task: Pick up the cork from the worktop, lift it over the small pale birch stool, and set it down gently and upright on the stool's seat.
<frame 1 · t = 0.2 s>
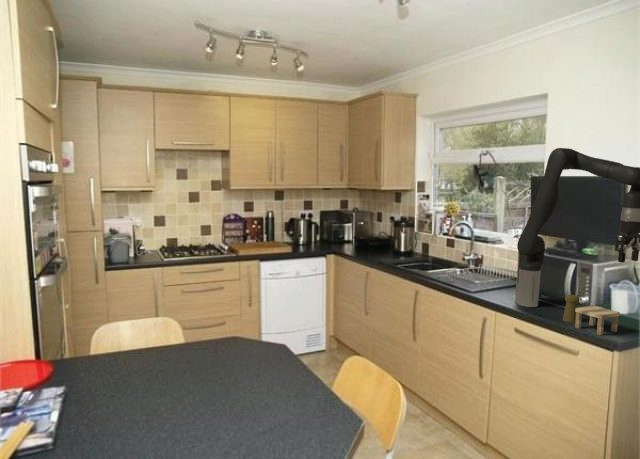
hand: (627, 261, 180), 28 cm above the kitchen counter, tool pointing down, fingers open, 8 cm apart
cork: (570, 321, 198), on the kitchen counter
birch stool: (595, 329, 187), on the kitchen counter
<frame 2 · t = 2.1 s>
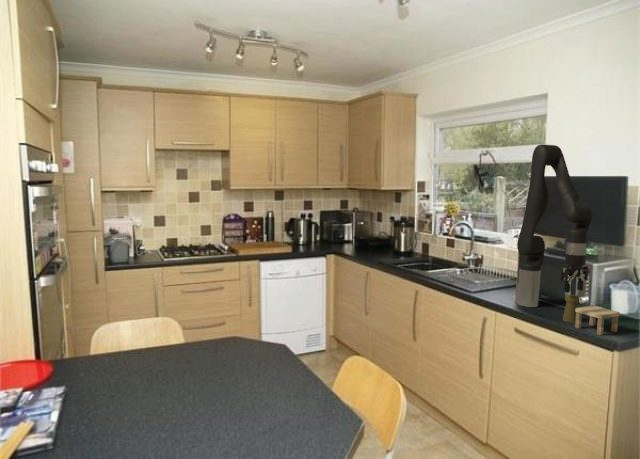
hand: (573, 291, 197), 13 cm above the kitchen counter, tool pointing down, fingers open, 8 cm apart
nothing on the kitchen counter moved.
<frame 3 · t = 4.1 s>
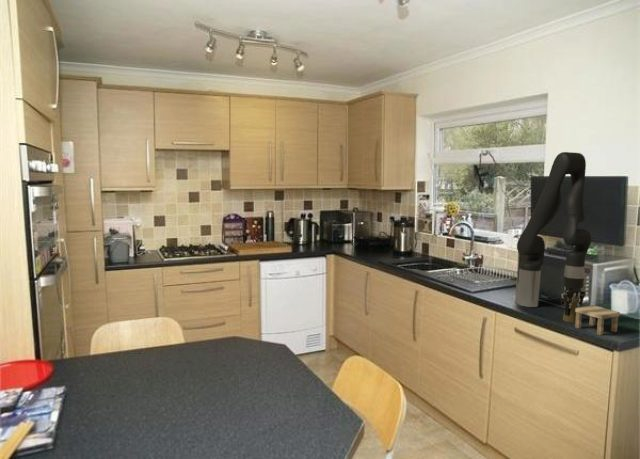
hand: (570, 315, 198), 2 cm above the kitchen counter, tool pointing down, fingers closed on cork, 3 cm apart
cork: (570, 321, 198), on the kitchen counter, touching gripper
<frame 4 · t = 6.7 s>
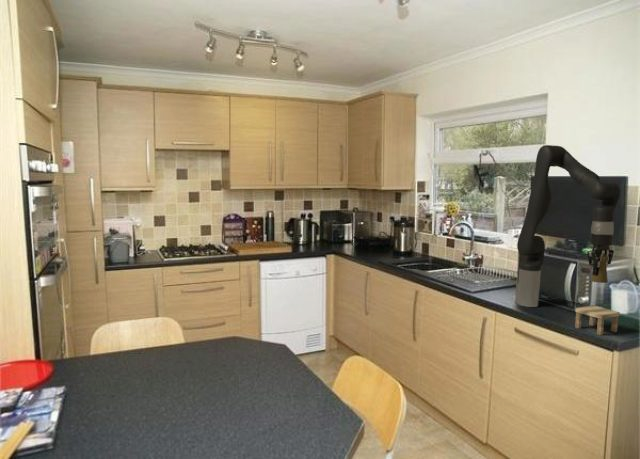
hand: (599, 275, 185), 22 cm above the kitchen counter, tool pointing down, fingers closed on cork, 3 cm apart
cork: (598, 281, 185), point 19 cm above the kitchen counter, touching gripper
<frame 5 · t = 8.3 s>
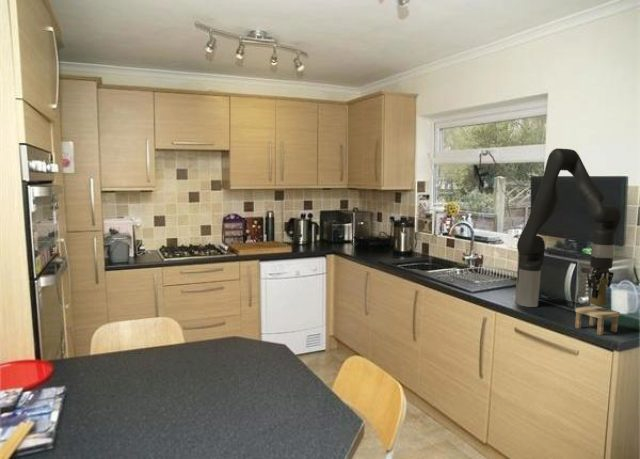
hand: (598, 297, 185), 13 cm above the kitchen counter, tool pointing down, fingers closed on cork, 3 cm apart
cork: (598, 304, 186), point 10 cm above the kitchen counter, touching gripper
when the fingers open (12 cm above the kitchen counter, at t = 9.3 s): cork drops 1 cm, resting on birch stool.
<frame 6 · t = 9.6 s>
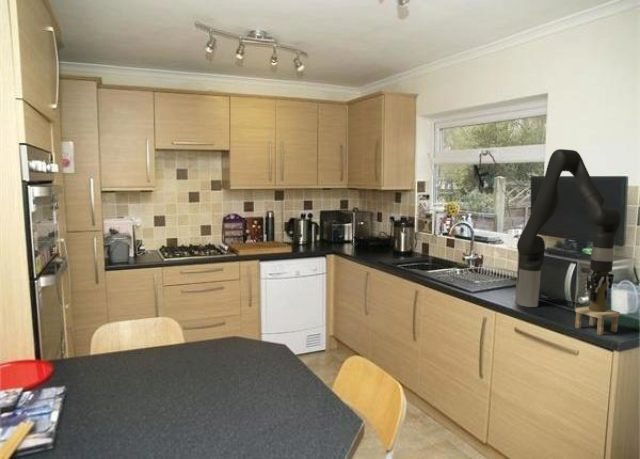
hand: (598, 300, 185), 12 cm above the kitchen counter, tool pointing down, fingers open, 6 cm apart
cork: (597, 310, 186), point 8 cm above the kitchen counter, touching birch stool
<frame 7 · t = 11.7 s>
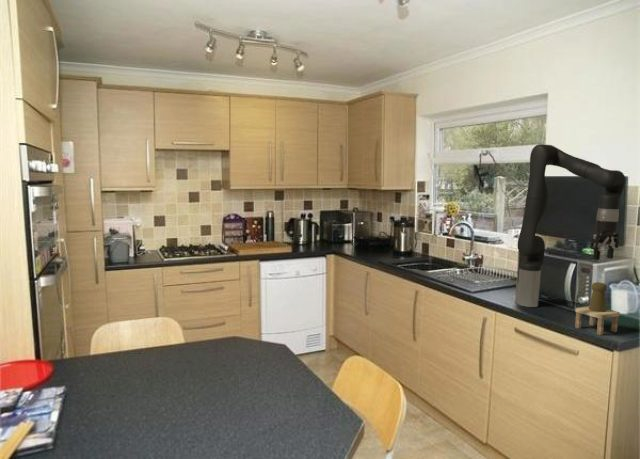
hand: (603, 259, 191), 27 cm above the kitchen counter, tool pointing down, fingers open, 8 cm apart
nothing on the kitchen counter moved.
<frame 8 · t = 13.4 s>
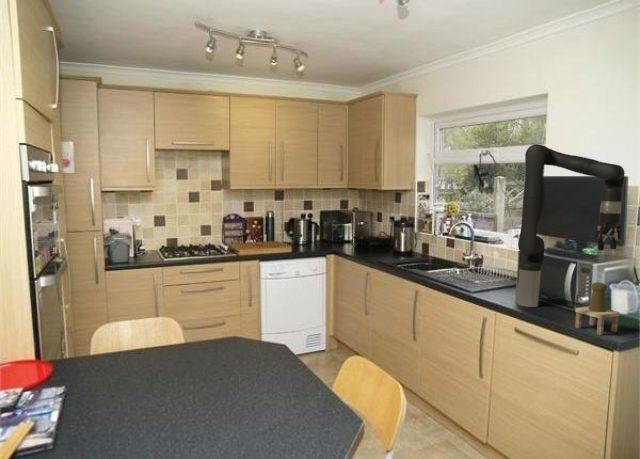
hand: (606, 249, 199), 30 cm above the kitchen counter, tool pointing down, fingers open, 8 cm apart
nothing on the kitchen counter moved.
at the end: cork inside the target area on the birch stool (0.1 cm from its centre), point 7.8 cm above the birch stool's base; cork tilted 0°; the gripper is holding nothing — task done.
